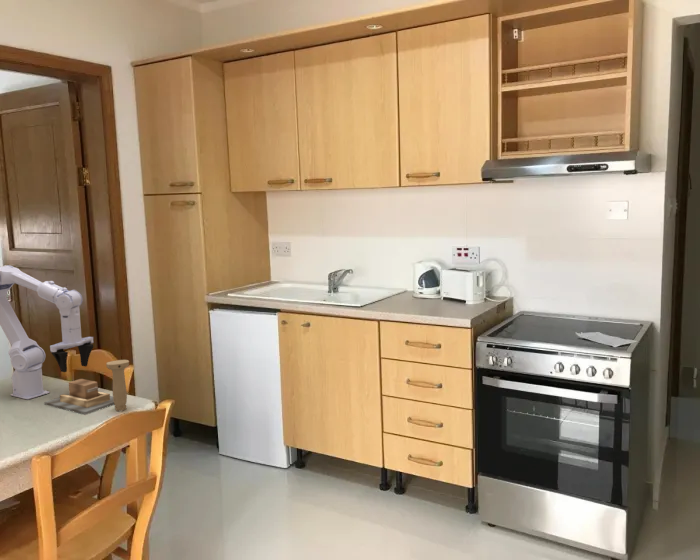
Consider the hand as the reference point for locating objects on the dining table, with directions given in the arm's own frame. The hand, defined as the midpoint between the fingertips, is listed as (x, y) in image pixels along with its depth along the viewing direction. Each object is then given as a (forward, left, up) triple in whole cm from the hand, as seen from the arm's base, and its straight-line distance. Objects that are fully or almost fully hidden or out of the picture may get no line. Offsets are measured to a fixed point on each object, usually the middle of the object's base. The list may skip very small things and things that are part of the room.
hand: (74, 368), depth 201 cm
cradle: (+8, -3, -9) cm, 13 cm away
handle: (+24, -2, -10) cm, 26 cm away
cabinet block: (+8, -3, -9) cm, 12 cm away
